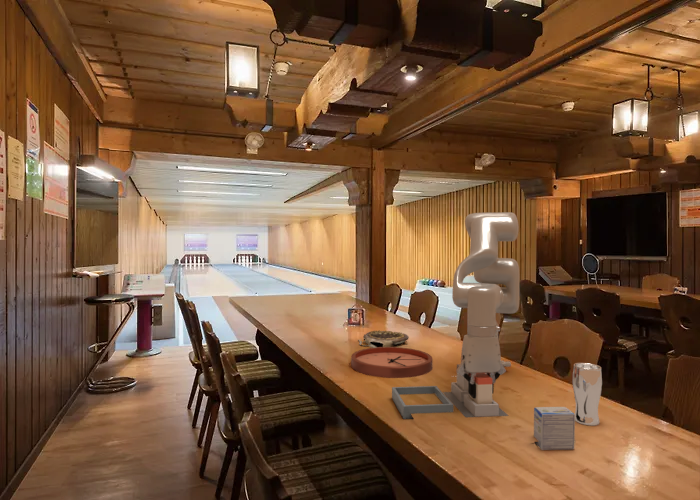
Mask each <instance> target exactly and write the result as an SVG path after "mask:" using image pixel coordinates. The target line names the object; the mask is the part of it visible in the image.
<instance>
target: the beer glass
mask: <svg viewBox="0 0 700 500" xmlns="http://www.w3.org/2000/svg"><path fill="white" fill-rule="evenodd" d="M572 371H573V372H572V387H573V395H574V400H575V401H574V402H575V411H574V414H575V423H578V424H581V425H584V426H591V427H594V426H595V427H596V426H599V425H600V418H599V405H600V404H599V403H600V399H601V395H602V389H603V388H602V387H603V378H602V367H601V366H600V365H598V364H594V363H588V362H575V363H574V364H573V370H572Z"/></svg>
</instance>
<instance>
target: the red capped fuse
mask: <svg viewBox="0 0 700 500" xmlns="http://www.w3.org/2000/svg"><path fill="white" fill-rule="evenodd" d="M475 384H476V398H472V397H471V396H470V398H471V399H472V400H473V401H474V402H475V403H476V404H492V399H493V394H492V378H491V377H490V376H488V375H487V374H486V373H476V377H475Z"/></svg>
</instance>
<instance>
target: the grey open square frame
mask: <svg viewBox="0 0 700 500" xmlns="http://www.w3.org/2000/svg"><path fill="white" fill-rule="evenodd" d="M424 394H425V395H426V394H427V395H428V394H430V395H431V394H434V395H435V396H436V397H437V398H438V399H439V401H441V403H437V404H436V403H433V404H432V403H431V404H406V403H405V402H404V400H403V398H402V397H401V395H424ZM391 399H392V402H393V403H394V404H395V407H396V408H397V410H398V412H399V413H400V415H401V417H402V419H403V420H414V417H413V415H414V414H440V413H454V404H453V403H452V402H451V401H450V400H449V399H448V398H447V397H446V395H445V394H444V393H443V391H442V390H441V389H440V388H439V387H438V386H437V385H430V386H429V385H427V386H425V385H419V386H393V387H391ZM412 414H413V415H412Z"/></svg>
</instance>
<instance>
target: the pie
mask: <svg viewBox="0 0 700 500" xmlns="http://www.w3.org/2000/svg"><path fill="white" fill-rule="evenodd" d="M362 339H365V341H363V342H362ZM362 339H361V338H360V339H358V341H359V344H358V345H360V346H361V347H368V348H375V347H378V346H377V345H375V344H372V343H380V344H382V347H399V346H400V345H401V344H402V345H405V342H406V341H408V340H409V339H410V338H409V335H408V334H407V333H403V332H401V331H400V332H399V331H391V330H371V331H367V332H366V333H365V334H363V338H362ZM371 342H372V343H371ZM363 343H365V345H364V344H363ZM361 344H362V345H361ZM367 344H368V345H367Z"/></svg>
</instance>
